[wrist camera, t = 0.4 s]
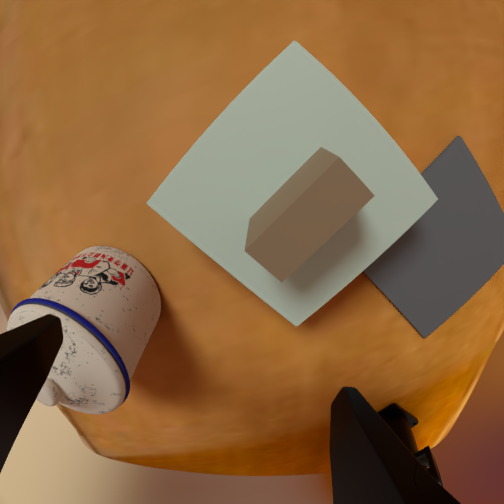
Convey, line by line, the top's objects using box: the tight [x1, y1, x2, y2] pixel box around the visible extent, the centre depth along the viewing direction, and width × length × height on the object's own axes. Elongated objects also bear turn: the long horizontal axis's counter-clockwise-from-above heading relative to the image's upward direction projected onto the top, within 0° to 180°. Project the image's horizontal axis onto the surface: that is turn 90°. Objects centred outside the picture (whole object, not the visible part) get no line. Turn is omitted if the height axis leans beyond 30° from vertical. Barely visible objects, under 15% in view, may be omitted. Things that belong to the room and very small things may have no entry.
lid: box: [147, 40, 438, 327], centre depth 14 cm, size 11×11×5 cm
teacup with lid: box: [7, 246, 161, 414], centre depth 19 cm, size 12×9×12 cm
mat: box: [363, 136, 504, 339], centre depth 21 cm, size 12×12×1 cm
